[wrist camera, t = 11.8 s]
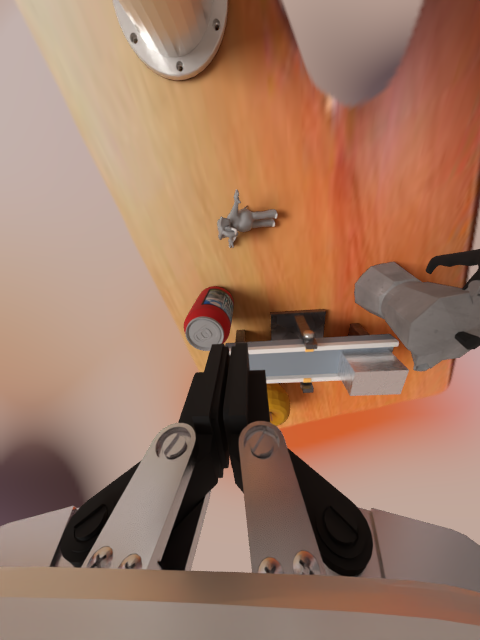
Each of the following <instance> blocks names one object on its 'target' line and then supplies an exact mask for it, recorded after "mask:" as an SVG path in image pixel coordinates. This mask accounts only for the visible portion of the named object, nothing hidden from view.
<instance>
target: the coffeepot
mask: <svg viewBox="0 0 480 640" xmlns="http://www.w3.org/2000/svg"><path fill="white" fill-rule="evenodd" d="M438 265H443V266H448V267H451V266H455V265H466V266H473V265H478V266H479V269H478V271H477V272H476V273H475V274H474V275H473V276H472V277H471V279H470V280H469V281H468V282H467V283H466V285H465V286H464V287H463V289H462V288H457V287H452V286H447V285H441V284H436V283H431V282H423V283H422V282H421V281H420V280H418V279H417V278H415V277H414V276H413V275H411V274H410V273H408V272H407V271H406V270H404V269H403V268H402V267H400V266H399V265H398V264H396V263H395V262H390V263H383V264H379V265H375V266H371V267H370V268H369V269H368V270H367V271H366V272H365V273H363V274H362V276H361V277H360V278H359V280H358V281H357V282H356V283H355V291H354V294H355V303H357V304H358V305H360V306H361V307H363V308H364V309H366V310H367V311H369V312H370V313H372V314H375V315H377V316H379V317H381V318H383V319H385V321H386V322H387V324H388V325H389V326H390V327H391V329H392V330H393V331H394V333H395V334H396V335H397V336H398V338H399V339H400V340H401V342H402V343H403V344H404V345H405V347H406V348H407V349H408V350H410V351H411V354H412V357H413V361H414V368H413V369H414V370H416V371H426V370H427V369H429V368H430V369H431V368H432V367H433V366H435V365H436V364H438V363H439V362H440V361H442V360H446V359H453V358H460V357H461V356H463V355H464V354H465V353H467V352H468V351H470V350H471V349H475V348H477V347H478V346H480V249H478V250H472V251H466V252H459V253H453V254H446V255H440V256H435V257H434V258H432V259H431V260H430V262H429V264H428V266H427V268H426V272H427V273H429V274H431V273H432V272H433V270H434V269H435V268H436V267H437V266H438Z"/></svg>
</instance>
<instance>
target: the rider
mask: <svg viewBox="0 0 480 640" xmlns="http://www.w3.org/2000/svg"><path fill="white" fill-rule="evenodd" d="M408 371H409V370H408V369H407V368H406V367H405V366H404V365H403V364H402V363H401V362H400V361H399V360H398V359H397V358H396V357H395V356H394V355H393V354H392V353H391V352H390V351H389V350H388V349H365V350H344V351H341V352H340V358H339V364H338V371H337V373H338V375H339V377H340V378H341V380H342V382H343V384H344V386H345V388H346V389H347V391H348V393H349V395H350V396H356V395H387V394H401V391H402V388H403V385H404V383H405V380H406V377H407V374H408Z"/></svg>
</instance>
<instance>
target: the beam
mask: <svg viewBox="0 0 480 640" xmlns="http://www.w3.org/2000/svg"><path fill="white" fill-rule="evenodd" d="M315 340H316V342H317V344H318V346H317V349H306V348H305V346H304V343H303V341H302V339H292V340H274V341H257V342H247V343H248V353H249V365H250V370H265V373H266V383H290V382H303V383H306V382H313V381H336V380H341V378H340V377H339V375H338V373H337V371H338V364H339V358H340V352H341V351H344V350H365V349H388V350H389V351H390V352H391V353H392V351H393V347H397V346H398V344H399V341H398V340H396V339H395V338H394V337H393V336H392V335H391V334H380V335H362V336H345V337H327V338H315ZM239 343H245V342H239ZM227 346H228V347H229V353H230V354H231V347H232V346H236V343H226V345H225V347H227Z"/></svg>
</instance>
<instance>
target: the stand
mask: <svg viewBox="0 0 480 640" xmlns="http://www.w3.org/2000/svg"><path fill="white" fill-rule="evenodd" d="M270 315H271V341H274V340H292V339H302V341H303V343H304V346H305V348H306V349H317V346H318V344H317V342H316V340H315V338H323V334H324V324H325V315H326V311H325V309H317V310H301V311H285V312H270ZM362 335H369V334H368V332H367V331H366V330H365V329H364V328H363V327H362V326H361V325H360V324H359V323H357V324H350V328H349V334H348V336H362ZM239 342H246V339H245V330H237V333H236V342H235V343H239ZM300 383H301V385H300V387H301V389H302V390H303V393H310V392H313V386H312V383H311V382H306V383H303V382H300Z"/></svg>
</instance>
